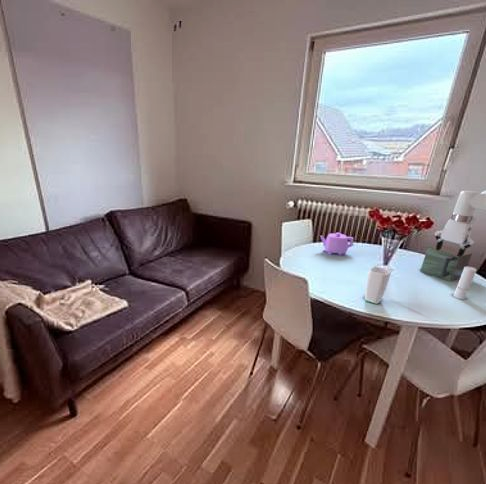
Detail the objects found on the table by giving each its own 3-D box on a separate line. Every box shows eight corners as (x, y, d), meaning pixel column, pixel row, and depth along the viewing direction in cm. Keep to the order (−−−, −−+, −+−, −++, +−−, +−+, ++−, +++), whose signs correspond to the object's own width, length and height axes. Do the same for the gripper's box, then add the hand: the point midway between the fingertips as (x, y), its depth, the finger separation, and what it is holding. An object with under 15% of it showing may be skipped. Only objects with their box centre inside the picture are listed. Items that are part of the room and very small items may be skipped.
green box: (443, 284, 155) (453, 258, 150) (414, 273, 167) (421, 249, 162) (450, 281, 158) (459, 256, 152) (421, 271, 170) (428, 247, 164)
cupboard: (450, 282, 158) (460, 256, 152) (421, 271, 170) (429, 247, 164) (462, 278, 163) (472, 253, 157) (433, 267, 175) (441, 244, 169)
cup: (383, 300, 139) (392, 270, 133) (378, 306, 135) (386, 275, 128) (366, 295, 144) (374, 265, 138) (361, 300, 139) (368, 270, 133)
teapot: (349, 250, 199) (353, 231, 194) (352, 257, 188) (357, 237, 183) (317, 247, 203) (320, 228, 198) (318, 254, 192) (321, 234, 187)
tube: (461, 301, 140) (473, 271, 133) (451, 297, 143) (462, 267, 137) (466, 299, 141) (478, 269, 135) (456, 295, 145) (467, 265, 139)
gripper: (487, 222, 138) (472, 257, 146) (446, 213, 152) (434, 246, 159) (478, 223, 135) (463, 260, 142) (437, 214, 149) (425, 248, 156)
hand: (448, 252), depth 151 cm, fingers open, 9 cm apart
